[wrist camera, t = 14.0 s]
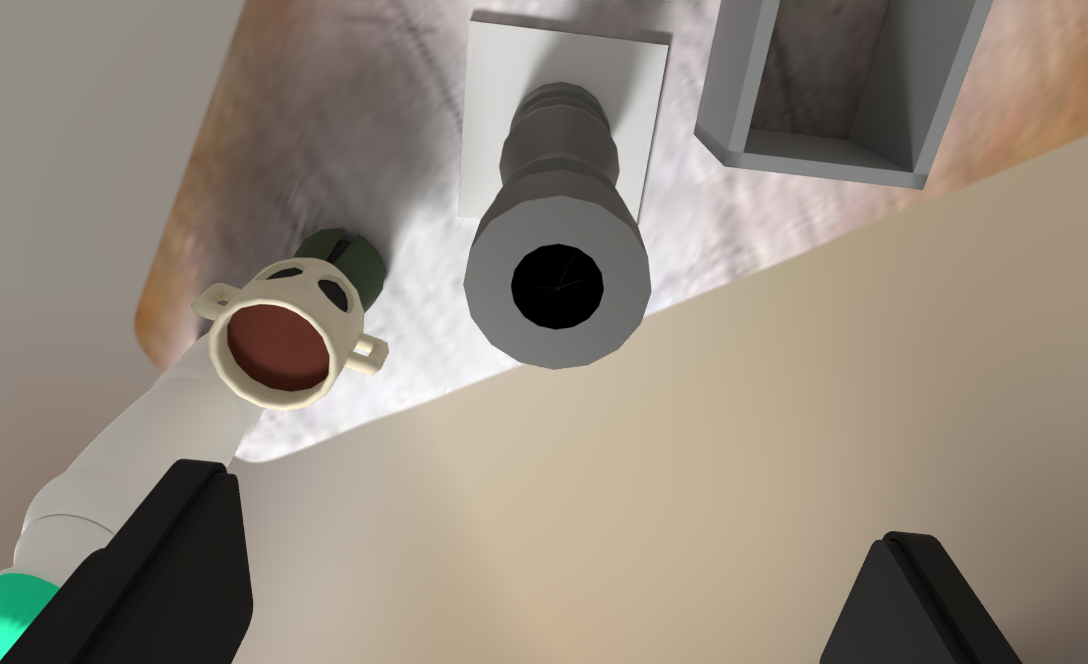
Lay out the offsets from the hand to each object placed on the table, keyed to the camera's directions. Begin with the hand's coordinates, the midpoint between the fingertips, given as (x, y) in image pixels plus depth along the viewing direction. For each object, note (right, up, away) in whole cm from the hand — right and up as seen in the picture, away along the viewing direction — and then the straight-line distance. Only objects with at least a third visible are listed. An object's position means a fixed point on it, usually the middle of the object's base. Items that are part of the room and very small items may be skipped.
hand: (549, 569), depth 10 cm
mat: (+1, +16, +33) cm, 37 cm away
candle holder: (+1, +16, +33) cm, 37 cm away
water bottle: (-23, +1, +42) cm, 48 cm away
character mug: (-14, +8, +38) cm, 41 cm away
